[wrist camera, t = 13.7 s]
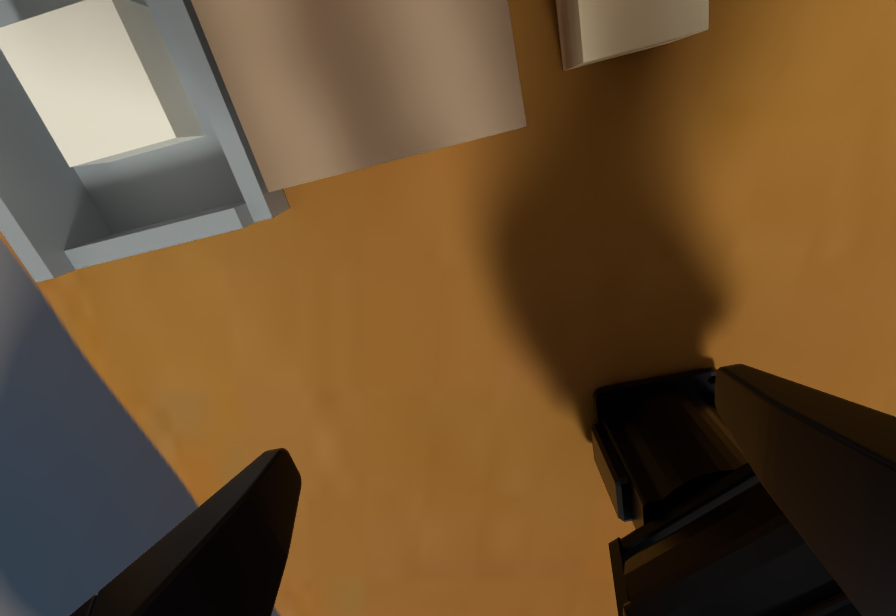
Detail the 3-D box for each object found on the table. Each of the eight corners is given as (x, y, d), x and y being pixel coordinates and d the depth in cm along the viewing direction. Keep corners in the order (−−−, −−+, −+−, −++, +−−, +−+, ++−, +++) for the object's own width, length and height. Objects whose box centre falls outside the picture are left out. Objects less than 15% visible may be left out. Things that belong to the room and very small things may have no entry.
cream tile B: (149, 7, 15) (108, -8, 14) (205, 135, 17) (176, 137, 15) (43, 40, 16) (-10, 30, 14) (109, 162, 18) (69, 167, 16)
